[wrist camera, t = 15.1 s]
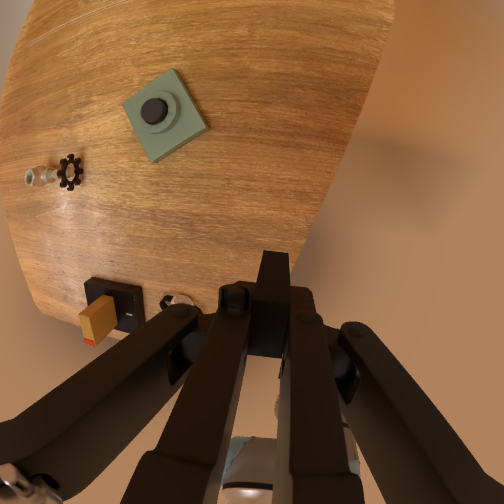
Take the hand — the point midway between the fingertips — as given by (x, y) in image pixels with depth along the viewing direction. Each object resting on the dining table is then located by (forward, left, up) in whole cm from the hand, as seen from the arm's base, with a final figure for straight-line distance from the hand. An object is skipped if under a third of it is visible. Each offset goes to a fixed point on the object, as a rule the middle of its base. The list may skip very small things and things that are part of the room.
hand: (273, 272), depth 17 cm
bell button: (+22, +8, -21) cm, 31 cm away
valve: (+27, +32, -25) cm, 49 cm away
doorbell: (+22, +8, -24) cm, 34 cm away
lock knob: (-1, +35, -21) cm, 41 cm away
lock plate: (-1, +35, -24) cm, 43 cm away
